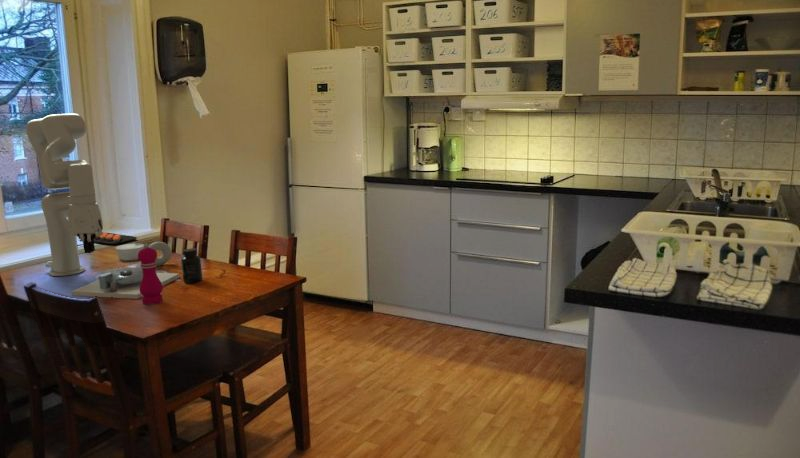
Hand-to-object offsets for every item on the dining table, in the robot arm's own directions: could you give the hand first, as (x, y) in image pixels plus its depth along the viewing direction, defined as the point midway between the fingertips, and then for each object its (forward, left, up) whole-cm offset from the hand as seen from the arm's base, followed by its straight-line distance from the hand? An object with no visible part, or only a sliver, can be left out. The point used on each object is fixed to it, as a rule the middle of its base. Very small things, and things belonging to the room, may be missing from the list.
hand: (89, 251), depth 227 cm
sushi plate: (-56, +72, -16) cm, 92 cm away
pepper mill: (+25, -4, -16) cm, 30 cm away
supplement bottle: (+26, +20, -16) cm, 36 cm away
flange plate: (+5, +9, -12) cm, 16 cm away
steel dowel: (+8, 0, -14) cm, 16 cm away
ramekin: (-20, +49, -16) cm, 55 cm away
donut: (0, +39, -16) cm, 42 cm away
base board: (+5, +11, -15) cm, 19 cm away
